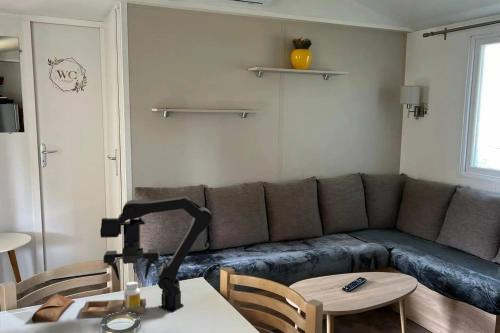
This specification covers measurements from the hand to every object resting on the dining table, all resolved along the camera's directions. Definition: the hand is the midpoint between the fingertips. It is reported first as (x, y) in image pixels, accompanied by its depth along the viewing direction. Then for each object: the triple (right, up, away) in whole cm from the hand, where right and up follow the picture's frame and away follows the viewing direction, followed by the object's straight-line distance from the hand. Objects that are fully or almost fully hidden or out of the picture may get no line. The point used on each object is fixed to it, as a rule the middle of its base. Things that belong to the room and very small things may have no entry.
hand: (132, 279), depth 156 cm
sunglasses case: (-27, -12, -1) cm, 29 cm away
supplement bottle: (0, -11, +1) cm, 11 cm away
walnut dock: (-6, -11, 0) cm, 13 cm away
